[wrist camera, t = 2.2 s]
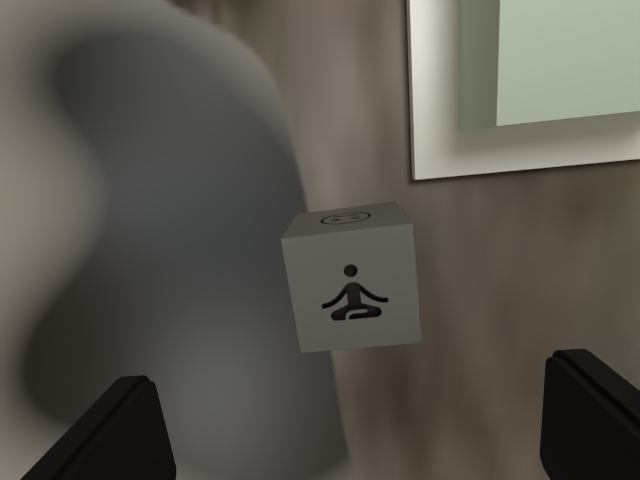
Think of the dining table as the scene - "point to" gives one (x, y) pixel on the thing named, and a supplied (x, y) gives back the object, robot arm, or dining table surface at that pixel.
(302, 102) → the dining table surface
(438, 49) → the baseplate
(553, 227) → the dining table surface
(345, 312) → the dice cube
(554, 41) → the sage brick
